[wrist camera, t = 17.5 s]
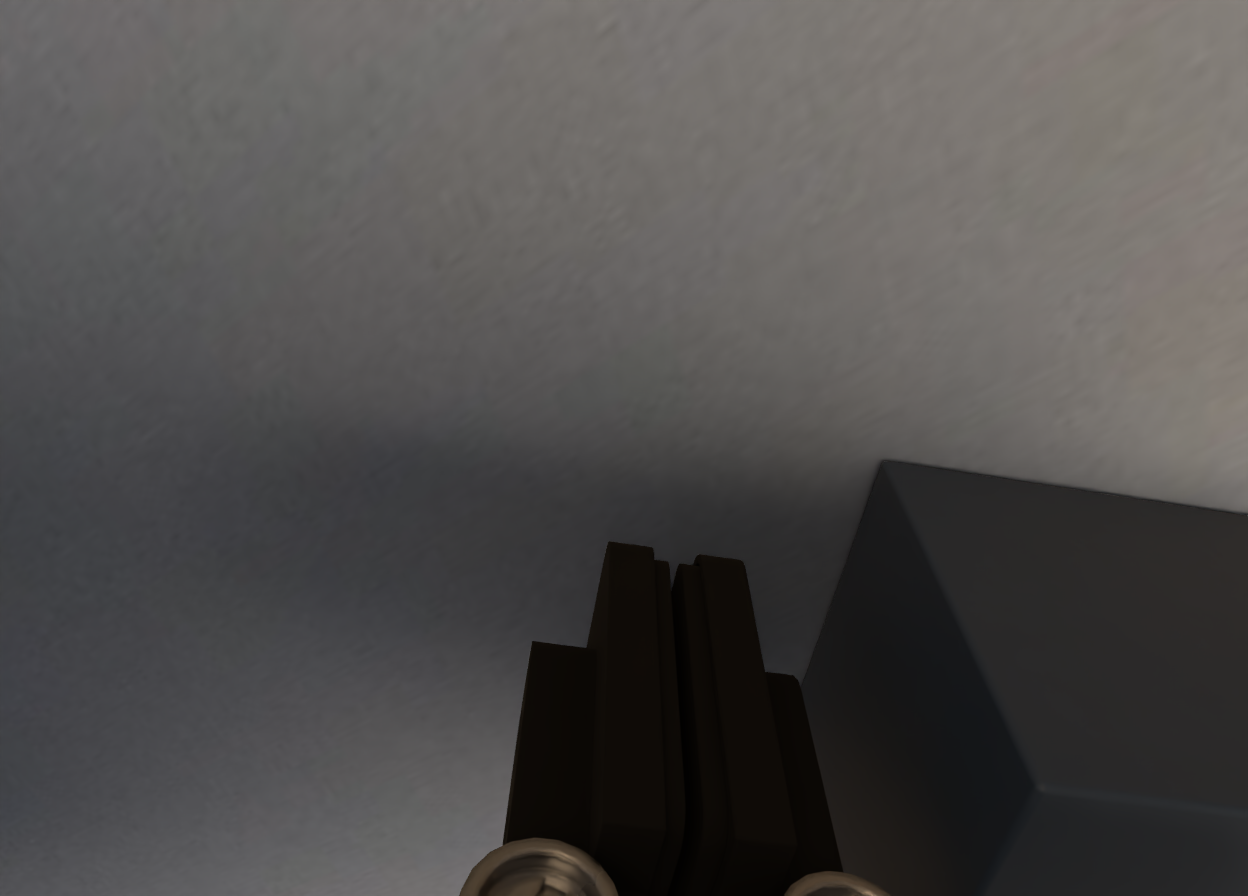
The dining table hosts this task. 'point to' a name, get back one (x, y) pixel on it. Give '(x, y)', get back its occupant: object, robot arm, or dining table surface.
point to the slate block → (1035, 692)
